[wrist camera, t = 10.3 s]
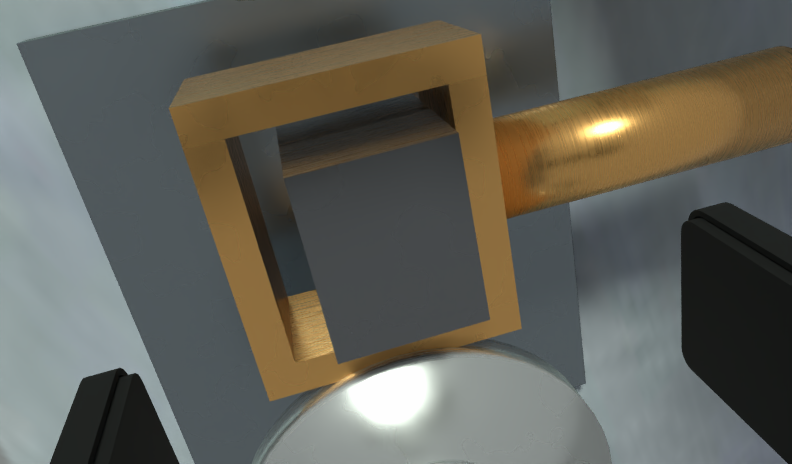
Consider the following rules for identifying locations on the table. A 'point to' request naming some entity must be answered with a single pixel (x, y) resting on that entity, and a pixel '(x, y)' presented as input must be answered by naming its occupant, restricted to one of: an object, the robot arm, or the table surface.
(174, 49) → the ringlock standard
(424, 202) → the grey rectangular block
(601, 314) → the table surface
